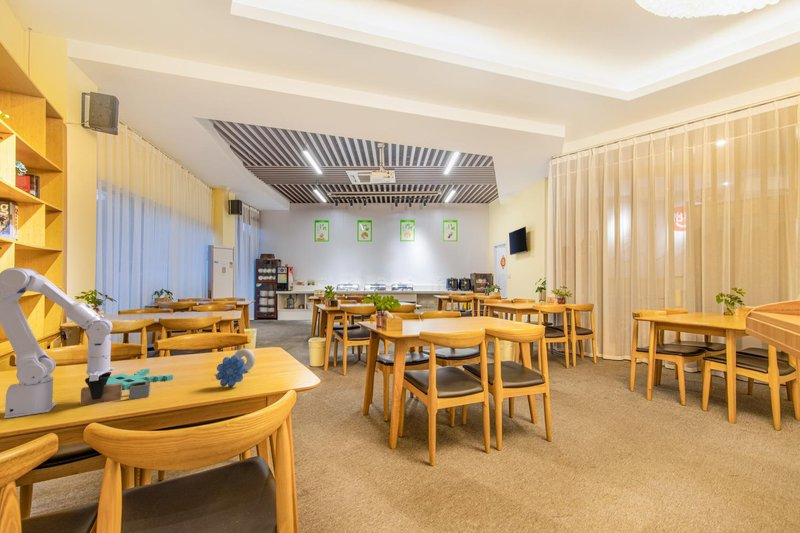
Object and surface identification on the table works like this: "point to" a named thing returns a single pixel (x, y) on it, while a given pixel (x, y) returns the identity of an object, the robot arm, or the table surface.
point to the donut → (248, 355)
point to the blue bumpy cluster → (231, 371)
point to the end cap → (139, 390)
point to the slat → (109, 394)
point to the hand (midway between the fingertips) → (97, 397)
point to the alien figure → (136, 378)
